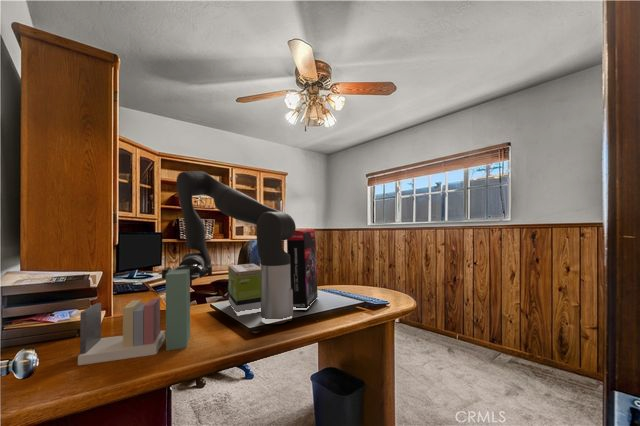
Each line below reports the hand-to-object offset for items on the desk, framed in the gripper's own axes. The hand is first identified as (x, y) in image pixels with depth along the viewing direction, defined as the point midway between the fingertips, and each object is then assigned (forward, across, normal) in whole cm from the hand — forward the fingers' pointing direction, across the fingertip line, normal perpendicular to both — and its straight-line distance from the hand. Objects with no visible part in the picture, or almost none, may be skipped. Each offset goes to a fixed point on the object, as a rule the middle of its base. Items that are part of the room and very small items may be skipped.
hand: (185, 275), depth 84 cm
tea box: (-12, +18, +15) cm, 27 cm away
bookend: (+12, -19, +13) cm, 26 cm away
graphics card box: (-9, +38, +15) cm, 42 cm away
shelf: (+12, -12, +15) cm, 22 cm away
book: (+12, 0, +15) cm, 19 cm away
